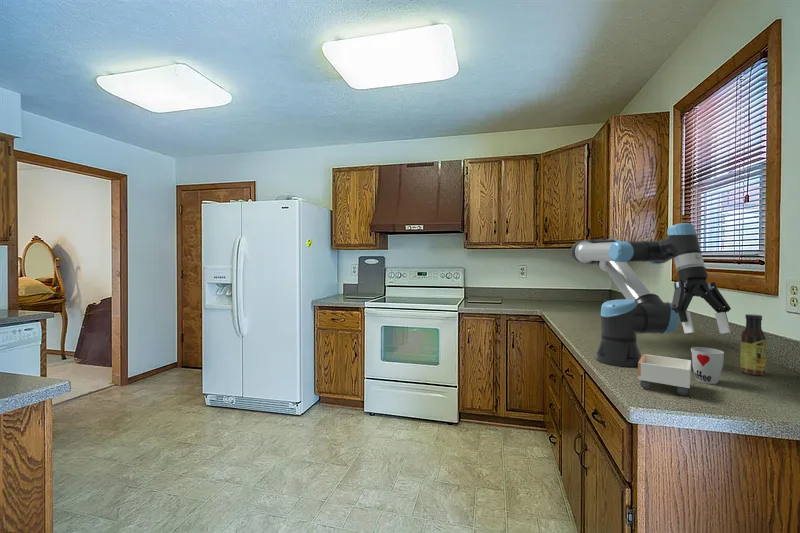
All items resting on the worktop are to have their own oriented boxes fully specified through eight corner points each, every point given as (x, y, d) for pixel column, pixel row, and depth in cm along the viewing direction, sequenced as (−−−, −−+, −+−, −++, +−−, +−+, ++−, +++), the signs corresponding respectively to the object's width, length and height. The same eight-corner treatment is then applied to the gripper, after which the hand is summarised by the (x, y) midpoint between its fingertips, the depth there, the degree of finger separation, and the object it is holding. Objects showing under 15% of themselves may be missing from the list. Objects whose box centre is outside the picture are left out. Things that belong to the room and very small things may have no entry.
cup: (684, 377, 121) (684, 347, 121) (707, 376, 122) (707, 346, 121) (706, 386, 113) (706, 354, 113) (731, 385, 113) (731, 353, 113)
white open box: (638, 387, 112) (637, 362, 112) (643, 376, 122) (643, 354, 121) (689, 396, 104) (689, 370, 104) (691, 384, 114) (691, 360, 113)
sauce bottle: (761, 377, 120) (761, 317, 119) (736, 372, 125) (737, 314, 125) (769, 374, 123) (770, 315, 122) (745, 369, 128) (745, 312, 128)
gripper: (668, 263, 116) (685, 331, 110) (733, 266, 121) (752, 331, 114) (649, 270, 123) (663, 334, 117) (710, 273, 128) (727, 334, 121)
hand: (707, 333), depth 116 cm, fingers open, 13 cm apart
